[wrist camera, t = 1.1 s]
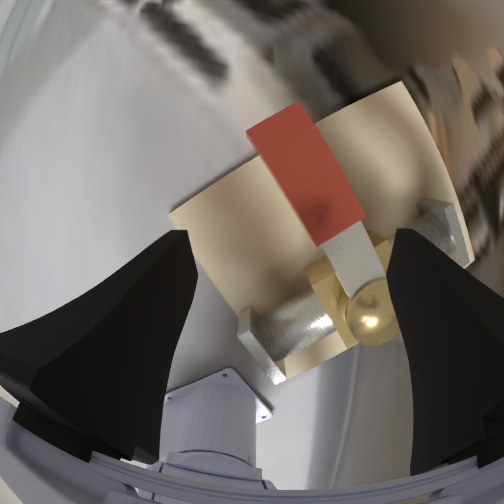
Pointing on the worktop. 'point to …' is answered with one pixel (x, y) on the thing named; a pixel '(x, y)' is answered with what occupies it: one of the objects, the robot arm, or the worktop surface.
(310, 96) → the worktop surface
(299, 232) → the board
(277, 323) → the valve
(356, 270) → the lever
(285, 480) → the worktop surface
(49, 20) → the worktop surface
